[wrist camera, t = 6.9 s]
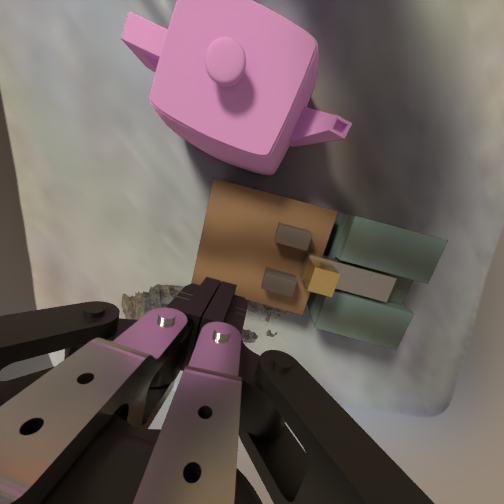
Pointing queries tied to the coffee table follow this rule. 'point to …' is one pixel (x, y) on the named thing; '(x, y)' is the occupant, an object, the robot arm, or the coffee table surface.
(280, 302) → the block set
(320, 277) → the yellow-capped grey beam
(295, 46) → the teapot
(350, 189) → the coffee table surface
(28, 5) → the coffee table surface
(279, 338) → the coffee table surface
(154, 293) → the driftwood
